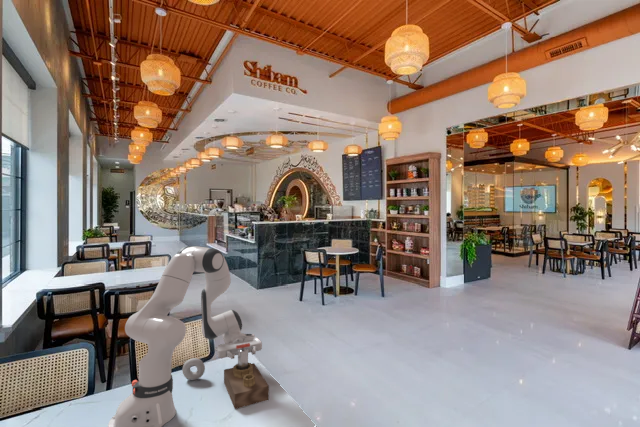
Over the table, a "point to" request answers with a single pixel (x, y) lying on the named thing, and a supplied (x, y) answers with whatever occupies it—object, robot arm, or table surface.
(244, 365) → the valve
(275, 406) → the table surface
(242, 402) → the manifold block
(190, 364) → the donut
